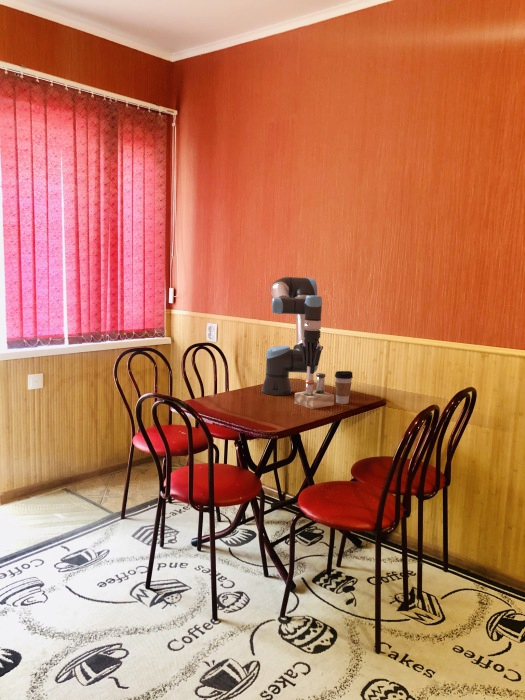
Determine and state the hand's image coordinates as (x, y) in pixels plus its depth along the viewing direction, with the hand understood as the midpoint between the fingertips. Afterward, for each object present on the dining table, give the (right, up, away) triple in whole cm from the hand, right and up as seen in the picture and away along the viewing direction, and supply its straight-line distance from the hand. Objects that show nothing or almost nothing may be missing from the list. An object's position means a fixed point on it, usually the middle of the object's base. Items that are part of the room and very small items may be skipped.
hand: (309, 380), depth 263 cm
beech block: (+2, -11, +4) cm, 12 cm away
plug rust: (0, -9, +2) cm, 9 cm away
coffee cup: (+16, -11, +10) cm, 22 cm away
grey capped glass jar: (+5, -6, +6) cm, 10 cm away
